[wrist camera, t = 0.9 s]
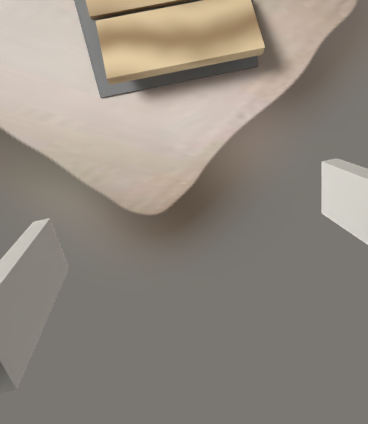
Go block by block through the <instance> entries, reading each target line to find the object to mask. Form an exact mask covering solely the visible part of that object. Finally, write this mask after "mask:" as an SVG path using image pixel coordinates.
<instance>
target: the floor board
mask: <svg viewBox="0 0 368 424" xmlns="http://www.w3.org/2000/svg"><path fill="white" fill-rule="evenodd" d="M188 1H193V0H86V4H87V8H88V12H89V16H90V18H91V19H97V18H103V17H108V16H113V15H119V14H124V13H129V12H135V11H140V10H145V9H151V8H156V7H161V6H166V5H172V4H177V3H182V2H188Z"/></svg>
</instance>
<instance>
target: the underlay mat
mask: <svg viewBox="0 0 368 424" xmlns="http://www.w3.org/2000/svg"><path fill="white" fill-rule="evenodd" d="M74 1H75V5H76V8H77V12H78V16H79V19H80V23H81V27H82V31H83V34H84V38H85V42H86V45H87V49H88V53H89V57H90V60H91V64H92V68H93V71H94V75H95V79H96V83H97V86H98V90H99V94H100V97H101V98H102V97H107V96H112V95H117V94H122V93H127V92H132V91H137V90H142V89H147V88H152V87H157V86H162V85H167V84H172V83H177V82H182V81H187V80H192V79H197V78H202V77H207V76H212V75H217V74H222V73H227V72H232V71H237V70H242V69H247V68H252V67H257V66H258V62H257V56H253V57H248V58H243V59H238V60H233V61H228V62H223V63H218V64H212V65H207V66H202V67H197V68H192V69H187V70H182V71H177V72H172V73H167V74H162V75H157V76H152V77H147V78H142V79H137V80H132V81H127V82H122V83H117V84H112V85H109V83H108V80H107V77H106V72H105V67H104V62H103V56H102V51H101V46H100V41H99V36H98V31H97V26H96V21H97V20H102V19H107V18H112V17H118V16H123V15H128V14H134V13H139V12H144V11H150V10H155V9H160V8H165V7H171V6H176V5H181V4H187V3H192V2H197V1H203V0H193V1H188V2H182V3H177V4H172V5H166V6H161V7H156V8H151V9H145V10H140V11H135V12H129V13H124V14H119V15H113V16H108V17H103V18H97V19H91V18H90V16H89V12H88V8H87V4H86V0H74ZM251 2H252V0H251Z"/></svg>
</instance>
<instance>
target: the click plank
mask: <svg viewBox="0 0 368 424" xmlns="http://www.w3.org/2000/svg"><path fill="white" fill-rule="evenodd" d="M96 26H97V31H98V36H99V41H100V46H101V51H102V56H103V62H104V67H105V72H106V77H107V80H108V83H109V85H112V84H117V83H122V82H127V81H132V80H137V79H142V78H147V77H152V76H157V75H162V74H167V73H172V72H177V71H182V70H187V69H192V68H197V67H202V66H207V65H212V64H218V63H223V62H228V61H233V60H238V59H243V58H248V57H253V56H258V55H262V54H263V52H264V49H265V45H264V42H263V39H262V35H261V32H260V29H259V25H258V22H257V19H256V15H255V12H254V9H253V5H252V2H251V0H203V1H197V2H192V3H187V4H181V5H176V6H171V7H165V8H160V9H155V10H150V11H144V12H139V13H134V14H128V15H123V16H118V17H112V18H107V19H102V20H97V21H96Z"/></svg>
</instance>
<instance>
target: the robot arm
mask: <svg viewBox="0 0 368 424" xmlns="http://www.w3.org/2000/svg"><path fill="white" fill-rule="evenodd" d="M322 214H323V215H325V216H326V217H328V218H329V219H331V220H332V221H334V222H335V223H337V224H338V225H340V226H341V227H343V228H344V229H345V230H347V231H348V232H350V233H351V234H353V235H354V236H356V237H357V238H359V239H360V240H362V241H363V242H365V243H366V244H368V169H367V168H364V167H361V166H358V165H355V164H352V163H349V162H346V161H343V160H340V159H331V160H327V161H322ZM68 270H69V266H68V264H67V261H66V258H65V256H64V253H63V251H62V248H61V246H60V243H59V240H58V238H57V235H56V232H55V230H54V227H53V225H52V222H51V220H50V219H44V220H39V221H35V222H33V223H32V224H31V225H30V227H29V228H28V229H27V230H26V231H25V232H24V233H23V234H22V236H21V237H20V238H19V239H18V240H17V241H16V243H15V244H14V245H13V246H12V247H11V248H10V249H9V251H8V252H7V253H6V254H5V255H4V257H3V258H2V259H1V260H0V393H4V392H9V391H13V390H17V388H18V385H19V383H20V381H21V378H22V376H23V374H24V372H25V369H26V367H27V365H28V362H29V360H30V358H31V355H32V353H33V351H34V348H35V346H36V344H37V341H38V339H39V337H40V334H41V332H42V330H43V327H44V325H45V323H46V321H47V318H48V316H49V314H50V311H51V309H52V307H53V304H54V302H55V300H56V298H57V295H58V293H59V291H60V288H61V286H62V284H63V281H64V279H65V277H66V274H67V272H68Z"/></svg>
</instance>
